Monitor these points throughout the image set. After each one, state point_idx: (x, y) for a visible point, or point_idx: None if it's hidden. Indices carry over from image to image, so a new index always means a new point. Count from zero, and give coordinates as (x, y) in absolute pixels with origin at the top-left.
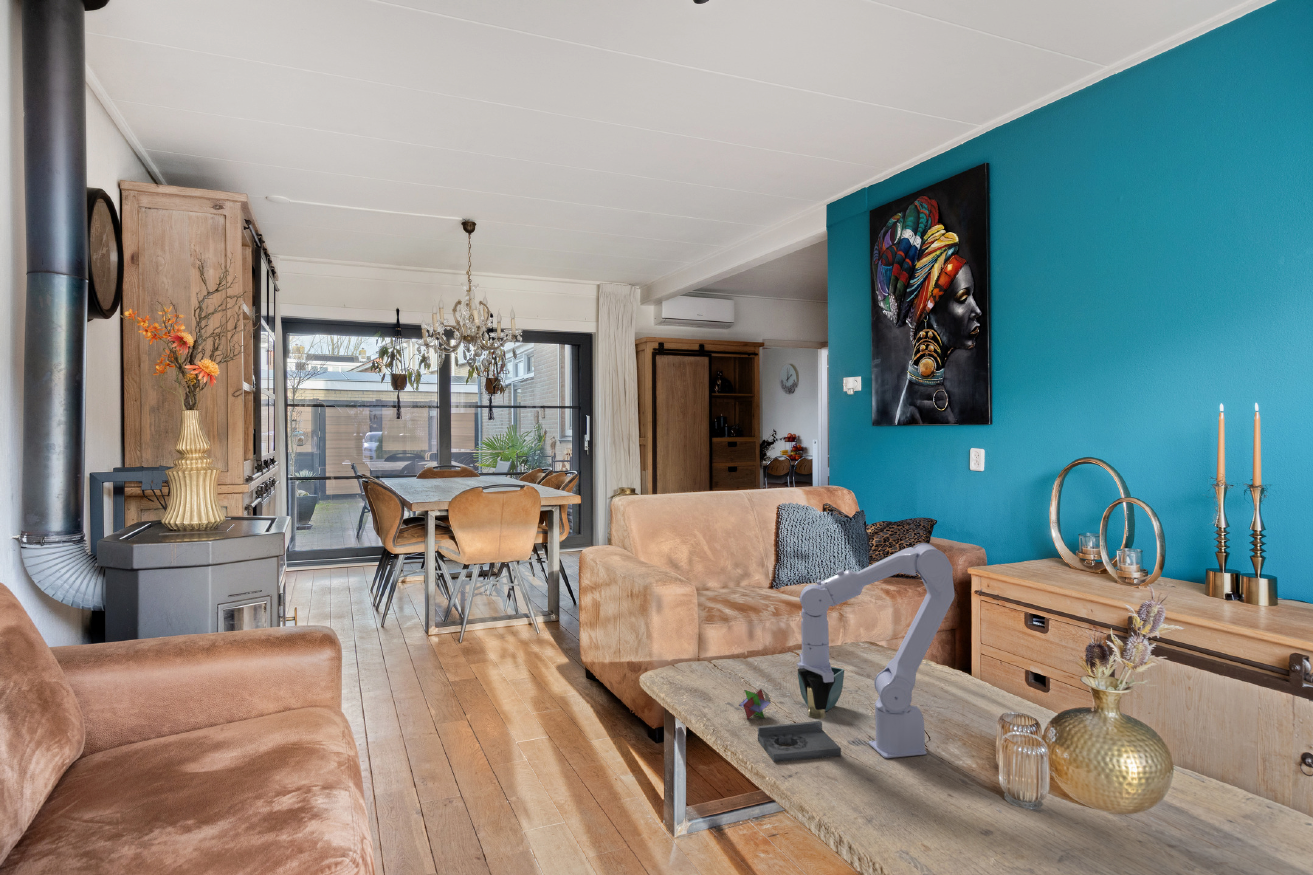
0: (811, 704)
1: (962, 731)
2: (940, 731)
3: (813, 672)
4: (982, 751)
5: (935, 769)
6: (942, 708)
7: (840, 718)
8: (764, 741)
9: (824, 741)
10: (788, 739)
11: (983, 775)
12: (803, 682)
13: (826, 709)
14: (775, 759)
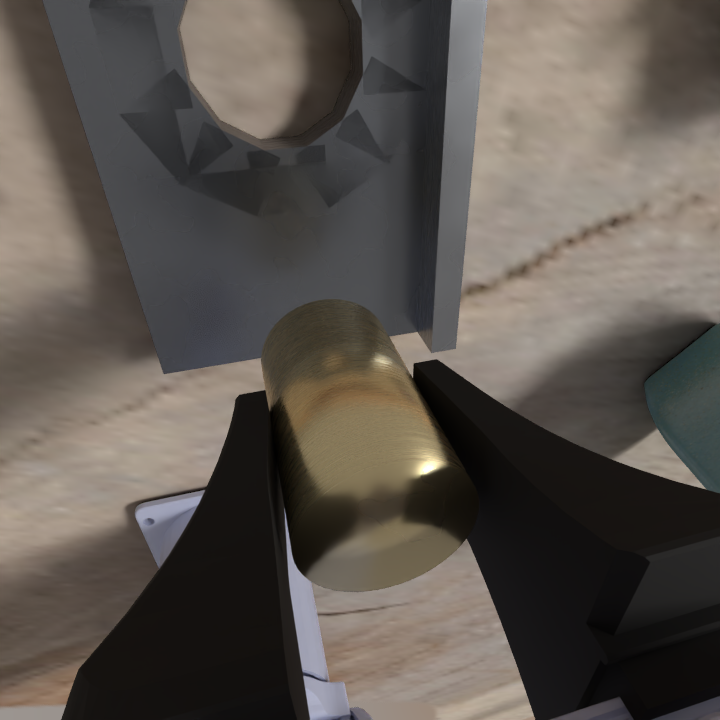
0: (298, 380)
1: (353, 668)
2: (364, 635)
3: (560, 656)
4: None
5: (51, 616)
6: (508, 642)
7: (560, 415)
8: None
9: (260, 311)
10: (349, 98)
11: (24, 698)
12: (556, 448)
13: (646, 386)
14: None
